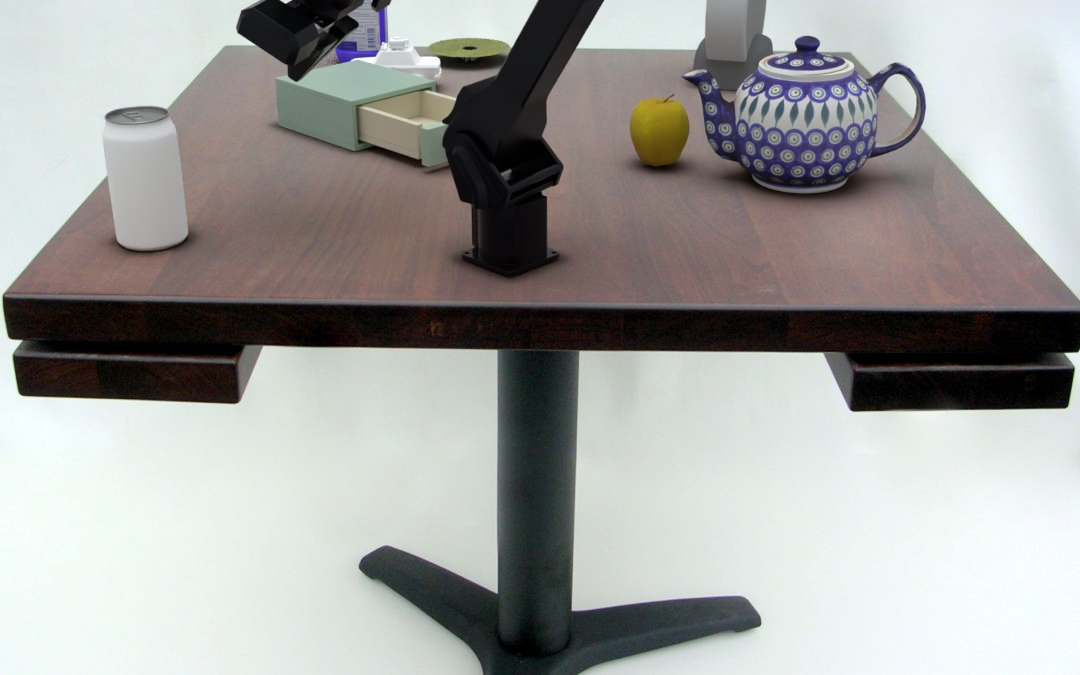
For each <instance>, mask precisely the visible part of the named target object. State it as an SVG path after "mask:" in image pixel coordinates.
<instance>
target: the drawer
mask: <svg viewBox="0 0 1080 675" xmlns="http://www.w3.org/2000/svg"><path fill="white" fill-rule="evenodd" d="M456 98H457V97H454V96H451V95H446V94H444V93H439V92H437V91H436V92H433V91H429V90H425V89H420V90H416V91H412V92H408V93H404V94H400V95H396V96H392V97H388V98H384V99H380V100H376V101H372V102H368V103H364V104H360V105H356V117H357V134H358V140H361V141H364V142H367V143H370V144H373V145H376V146H375V147H379V148H383V149H386V150H389V151H392V152H395V153H398V154H401V155H404V156H407V157H409V158H412V159H415V160H421V166H424V167H427V168H431V167H434V166H438V165H442V164H444V163H448V160H447V157H446V153H445V149H444V148H443V146H442V138H443V134H444V131H445V129H446V128H447V126H448V125H446V124H443V123H442V120H443V119H444V118H446V117H447V116H448V115H449V114H450V112H451V111H452V109H453V107H454V104H455V101H456Z"/></svg>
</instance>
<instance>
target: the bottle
mask: <svg viewBox="0 0 1080 675" xmlns="http://www.w3.org/2000/svg"><path fill="white" fill-rule="evenodd" d="M372 1H373V0H364V3H363V5H362V6H360V7H358V8H357V9H355V10H354V11H352V12H350V13H349V14H348V16H350V17H352V18H353V19H355V20H356V21H357V22H358V23H359V27H358V28H357V29H356V30H355V31H353V32H352V33H351V34H350V35H349V36H348V37H347V38H346V39H344V40H343V41H342V42H341V43H340V44H339V45H338V46H337V47H336V48H335V49H334V51H335V55H336V57H337V59H338V61H339V62H340V63H345V62H350V61H351V60H353V59H355V58H367V57H376V55H377V54H378V52H379V51H380V49H381V46H382V42H384V43H388V41H389V22H388V21H389V19H388V6H387V7H385V8H384V9H382V10H380V11H379V12H375V11H374V10H372V7H371V3H372Z"/></svg>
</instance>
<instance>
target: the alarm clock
mask: <svg viewBox="0 0 1080 675" xmlns="http://www.w3.org/2000/svg"><path fill="white" fill-rule="evenodd" d="M767 1H768V0H706V3H705V4H706V5H705V17H704V37H703V39H702V40H701V41H700V42H699V45H698V46H697V48H696V50H695V54H694V59H693V65H692V68H693V69H692V71H695V70H699V69H704V70H708V71H709V72H710V73H711V74H712V75H713V77H714V79H715V80H716V82H717V84H718V85H719V89H720V90H726V91H727V90H728V91H737V90H738V88H739V87H740V85H741V84H742V83H743V81H744V80H745V79H746V78H748V77H749V76H750V75H752V74H753V73H754V72H755V71H756V69H757V68H758V67H759V62H760V61H761V60H762V59H764V58H766V57H768V56H771V55H774V46H773V41H772V39H771V38H770V37H769V36H768V35H765V34H763V32H764V27H765V21H766V12H767V11H766V10H767ZM694 86H695V87H696V88H698V87H697V86H696V85H694Z"/></svg>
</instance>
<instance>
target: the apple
mask: <svg viewBox="0 0 1080 675" xmlns="http://www.w3.org/2000/svg"><path fill="white" fill-rule="evenodd" d="M674 96H675V92H674V93H672V94H671V95H670V96H668V97H666V98H663V97H662V98H658V97H657V98H655V97H650V98H645V99H642V100H641V101H639V102H638V103H637V104H636V105H635V106H634V107H633V110H632V112H631V115H630V120H629V134H630V138H631V142H632V145H633V147H634V150H635V152H636V154H637V157H638V158H639V159H640V161H641V162H642V164H644V165H645V166H652V167H656V168H657V167H663V166H669V165H673V164H674V163H675V162H677V161H678V160H679V158H680V157H681V155H682V152H683V151H684V149H685V146H686V145H687V142H688V140H689V135H690V120H689V116H688V112H687V110H686V109H685V107H684V106H683V104H682V103H681V102H679V101H678V100H674V99H671V98H672V97H674Z"/></svg>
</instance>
